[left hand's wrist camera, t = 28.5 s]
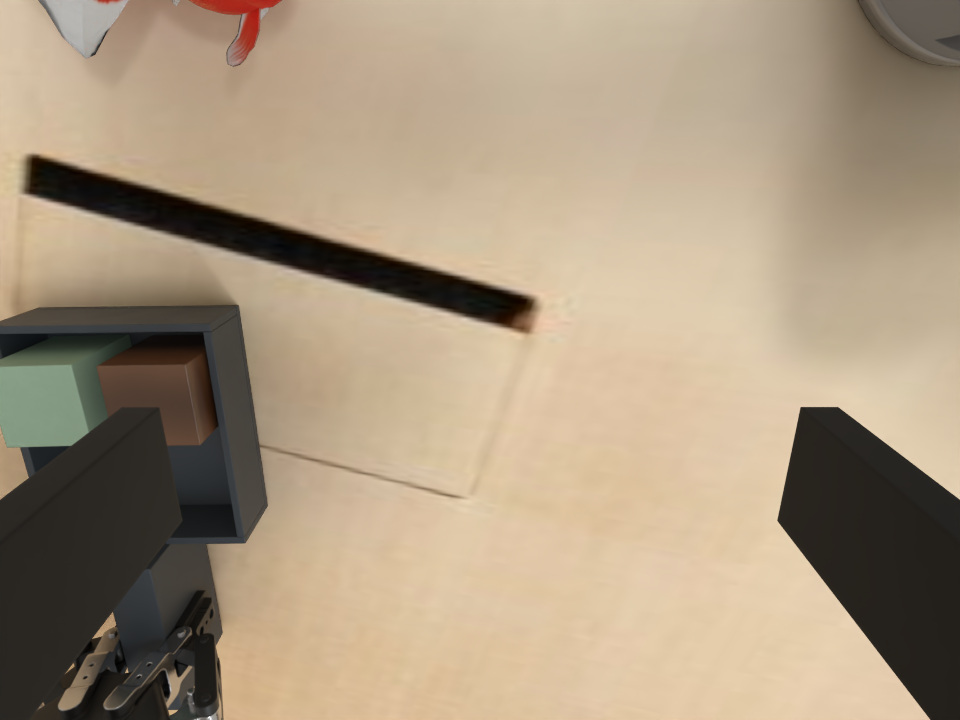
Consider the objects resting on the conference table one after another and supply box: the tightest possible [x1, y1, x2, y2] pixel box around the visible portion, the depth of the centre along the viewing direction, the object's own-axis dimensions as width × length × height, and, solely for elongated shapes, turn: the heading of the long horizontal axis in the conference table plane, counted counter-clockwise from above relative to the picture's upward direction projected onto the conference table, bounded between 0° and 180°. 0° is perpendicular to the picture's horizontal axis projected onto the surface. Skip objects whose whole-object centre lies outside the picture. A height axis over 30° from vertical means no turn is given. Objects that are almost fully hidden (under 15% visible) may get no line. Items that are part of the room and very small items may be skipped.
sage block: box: [0, 334, 132, 447], centre depth 37 cm, size 5×5×6 cm
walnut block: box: [97, 335, 219, 446], centre depth 37 cm, size 5×5×6 cm
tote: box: [0, 305, 268, 710], centre depth 40 cm, size 26×13×7 cm, turn 0°
